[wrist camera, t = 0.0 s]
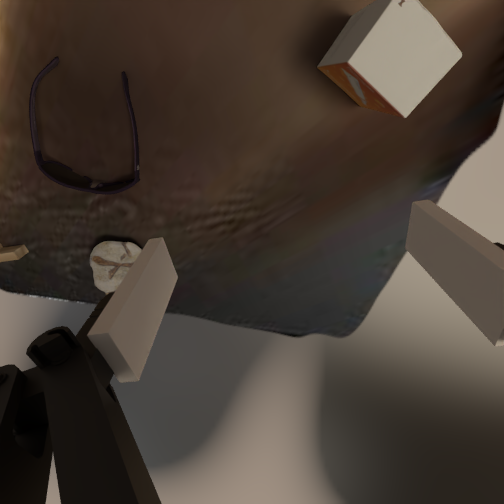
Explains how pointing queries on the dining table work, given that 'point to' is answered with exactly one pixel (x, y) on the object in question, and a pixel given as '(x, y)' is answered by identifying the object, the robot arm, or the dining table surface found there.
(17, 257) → the beige long bar
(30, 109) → the sunglasses
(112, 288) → the stone
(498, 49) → the dining table surface
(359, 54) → the small box
